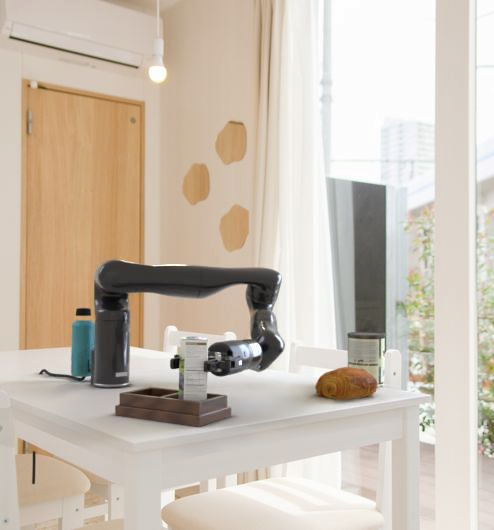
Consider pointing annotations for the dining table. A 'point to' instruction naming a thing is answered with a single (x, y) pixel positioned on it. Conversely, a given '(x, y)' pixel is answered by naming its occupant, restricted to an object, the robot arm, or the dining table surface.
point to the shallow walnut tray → (172, 407)
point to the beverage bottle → (82, 344)
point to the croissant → (346, 384)
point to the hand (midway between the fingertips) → (188, 365)
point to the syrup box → (193, 368)
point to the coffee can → (367, 353)
